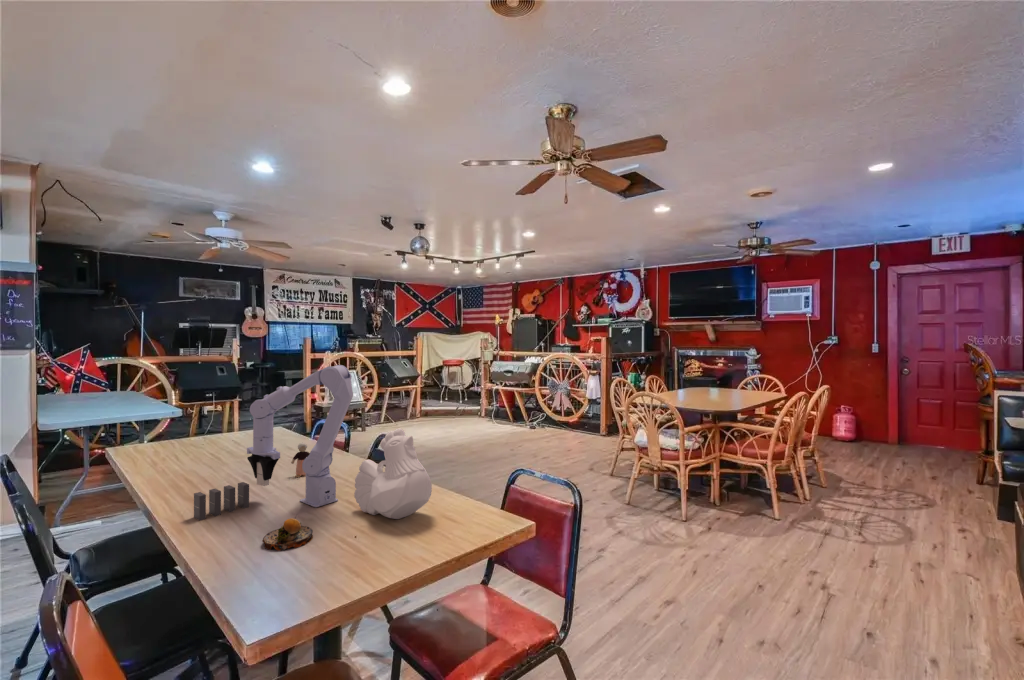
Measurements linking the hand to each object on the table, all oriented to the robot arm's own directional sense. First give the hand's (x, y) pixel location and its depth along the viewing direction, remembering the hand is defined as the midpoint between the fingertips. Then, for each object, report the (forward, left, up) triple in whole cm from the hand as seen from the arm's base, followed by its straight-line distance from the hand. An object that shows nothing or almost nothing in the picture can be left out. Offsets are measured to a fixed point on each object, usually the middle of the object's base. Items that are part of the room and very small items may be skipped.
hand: (263, 478), depth 150 cm
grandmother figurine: (+16, -23, -7) cm, 29 cm away
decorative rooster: (-42, -18, -7) cm, 46 cm away
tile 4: (0, +18, -7) cm, 19 cm away
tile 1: (0, +6, -7) cm, 9 cm away
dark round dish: (-35, +10, -8) cm, 37 cm away
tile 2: (0, +10, -7) cm, 12 cm away
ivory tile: (0, 0, -2) cm, 2 cm away
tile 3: (0, +14, -7) cm, 16 cm away
